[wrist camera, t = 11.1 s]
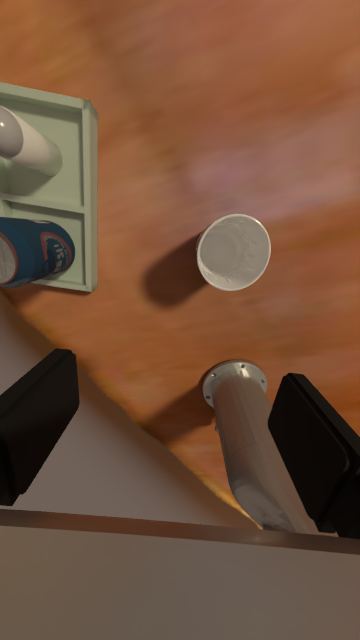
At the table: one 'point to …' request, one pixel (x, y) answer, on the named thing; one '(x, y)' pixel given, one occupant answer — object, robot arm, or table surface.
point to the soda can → (32, 250)
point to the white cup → (233, 252)
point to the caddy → (57, 177)
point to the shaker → (27, 145)
